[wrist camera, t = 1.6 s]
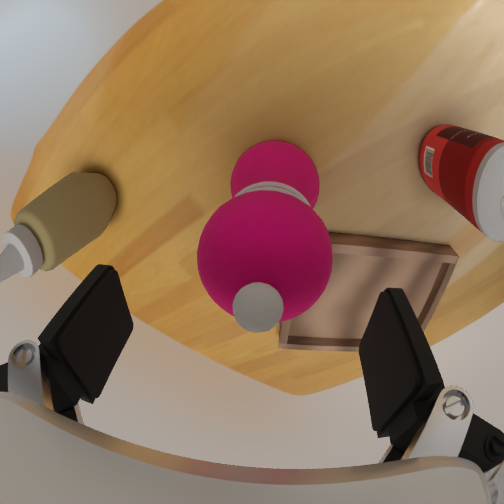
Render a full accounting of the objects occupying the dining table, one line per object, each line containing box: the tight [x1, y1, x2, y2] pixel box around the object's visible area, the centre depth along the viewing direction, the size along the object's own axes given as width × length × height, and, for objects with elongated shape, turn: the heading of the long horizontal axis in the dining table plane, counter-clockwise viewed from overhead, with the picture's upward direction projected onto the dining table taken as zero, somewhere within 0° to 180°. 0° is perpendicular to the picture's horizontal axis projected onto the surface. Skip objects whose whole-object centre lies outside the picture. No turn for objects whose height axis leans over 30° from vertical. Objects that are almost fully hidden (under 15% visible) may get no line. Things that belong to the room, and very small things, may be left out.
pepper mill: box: [197, 141, 333, 333], centre depth 17 cm, size 7×7×20 cm
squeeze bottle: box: [0, 173, 117, 282], centre depth 22 cm, size 8×8×18 cm
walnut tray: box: [278, 232, 459, 352], centre depth 31 cm, size 20×16×2 cm
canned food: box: [419, 125, 504, 241], centre depth 18 cm, size 8×8×11 cm
